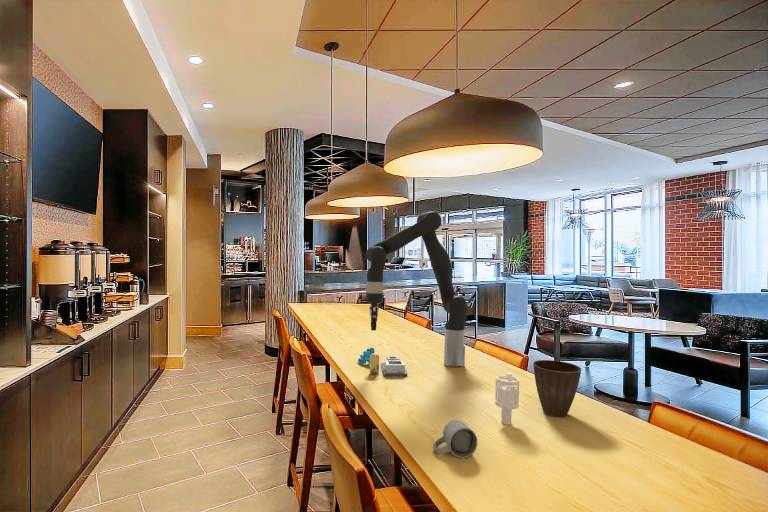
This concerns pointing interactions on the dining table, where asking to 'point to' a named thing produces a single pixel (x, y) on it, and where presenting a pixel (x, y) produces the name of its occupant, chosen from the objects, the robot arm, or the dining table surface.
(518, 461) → the dining table surface
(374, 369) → the cylinder
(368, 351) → the gear
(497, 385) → the white stepped cylinder
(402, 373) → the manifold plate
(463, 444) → the ceramic mug
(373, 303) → the robot arm
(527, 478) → the dining table surface
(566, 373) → the plant pot
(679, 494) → the dining table surface
